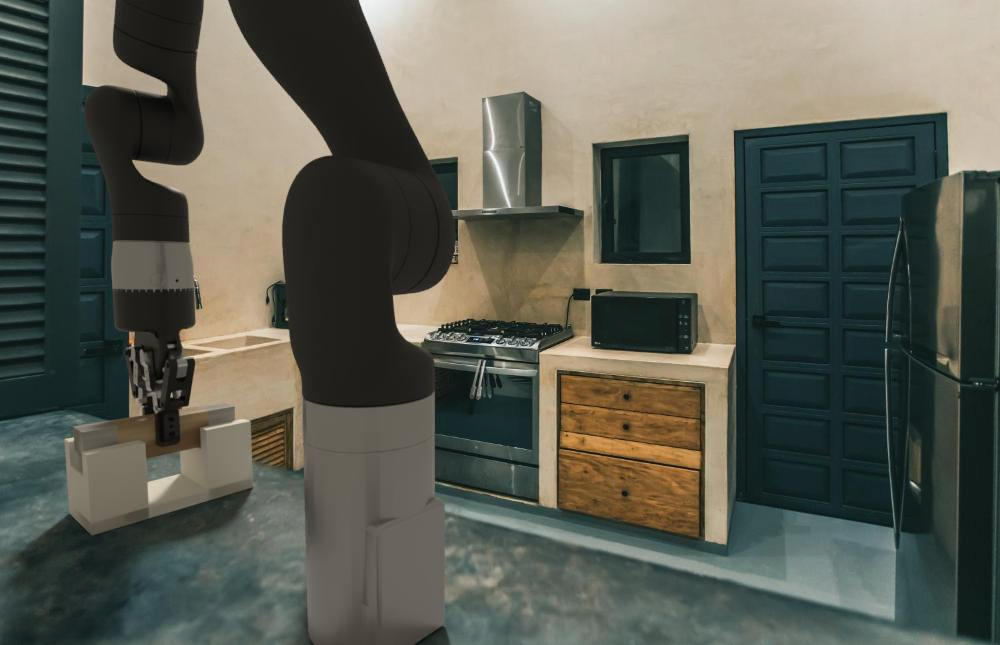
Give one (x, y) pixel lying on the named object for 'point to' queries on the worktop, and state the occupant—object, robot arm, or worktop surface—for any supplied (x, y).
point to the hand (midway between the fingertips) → (161, 440)
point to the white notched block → (130, 498)
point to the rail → (150, 431)
